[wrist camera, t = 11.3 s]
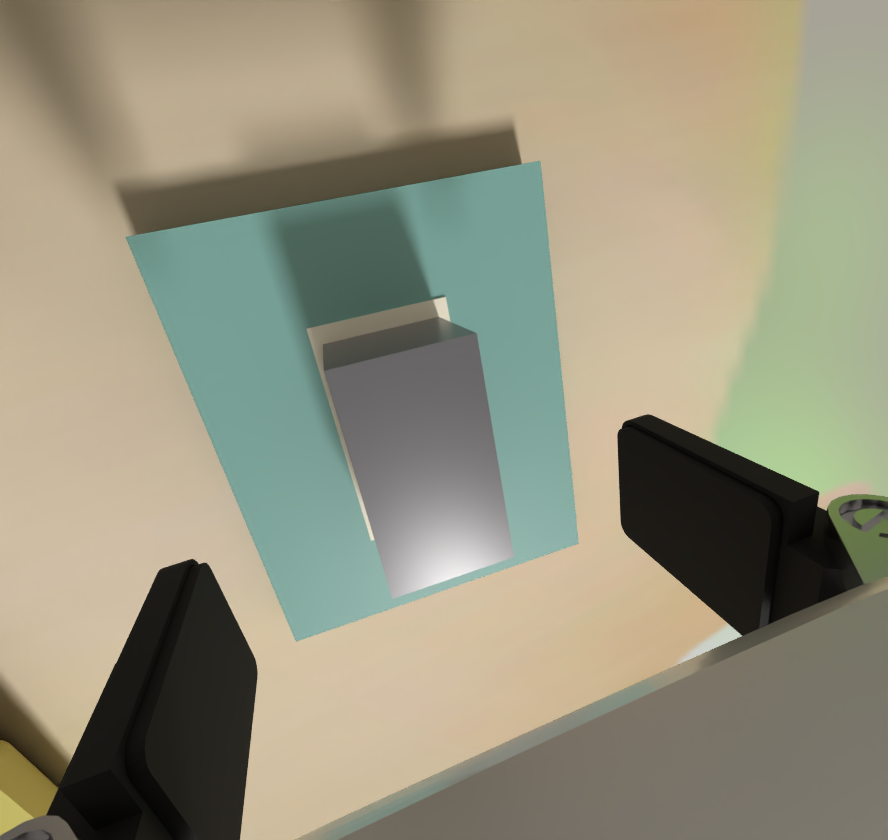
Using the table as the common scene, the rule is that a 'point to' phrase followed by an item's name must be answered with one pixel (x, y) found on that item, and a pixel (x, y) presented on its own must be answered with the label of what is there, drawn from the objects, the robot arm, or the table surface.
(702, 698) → the robot arm
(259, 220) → the board
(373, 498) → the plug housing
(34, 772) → the plastic component
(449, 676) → the table surface
